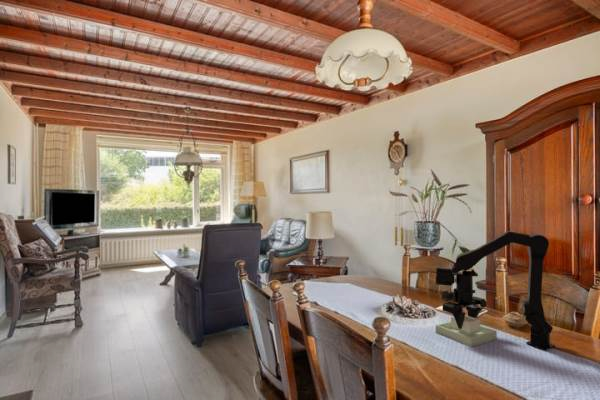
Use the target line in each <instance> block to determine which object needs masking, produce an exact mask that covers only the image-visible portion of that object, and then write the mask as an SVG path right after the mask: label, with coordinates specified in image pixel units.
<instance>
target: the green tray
mask: <svg viewBox="0 0 600 400" xmlns="http://www.w3.org/2000/svg"><path fill="white" fill-rule="evenodd" d="M497 332H498V331H497V330H495V329H492V328H490V327H487V326H483V325H481V324H480V332H477V333H474V334H471V335H469V334H466V333H463V332H461V331H458V330H455V329H453V328H451V320H449V321H447V322H446V321H445V322H442V323H438V324H435V334H438V335H441V336H443V337H446V338H449V339H451V340H453V341H455V342H457V341H458V343H460V344H462V343H463V345H466V346H467V345H468V347H470V348H472V347H477V346H480V345H481V344H485V343H487V342H488V343H489V342H491V341H494V340H497V337H498V336H497Z"/></svg>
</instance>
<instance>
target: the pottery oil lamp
mask: <svg viewBox="0 0 600 400" xmlns="http://www.w3.org/2000/svg"><path fill="white" fill-rule="evenodd" d="M501 318H502V320H503V321H504V322H505V323H506V324H507V325H509V326H510V327H513V328H518V329H519V328H520V329H521V328H522V327H525V326H526V325H528V324H529V323H528V322H527V321H526V319H525V317H524V315H523V314H520V313H519V312H518V311H510V312H508V313H506V314H505V315H504V316H502V317H501Z"/></svg>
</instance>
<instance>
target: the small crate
mask: <svg viewBox="0 0 600 400" xmlns="http://www.w3.org/2000/svg"><path fill="white" fill-rule="evenodd" d="M450 321H451V328H453V329H455V330H458V331H461V332H463V333H466V334H469V335H471V334H474V333H477V332H480V325H481V320H480V319H478V318H472V317H469V316H468V315H467V316H466V314H465V317H464V322H463V326H462V329H459V328H458V326H457V323H456V320H455V318H454V316H453V315H451V316H450Z"/></svg>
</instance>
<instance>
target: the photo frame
mask: <svg viewBox="0 0 600 400" xmlns="http://www.w3.org/2000/svg"><path fill="white" fill-rule="evenodd" d="M434 310H437V311H441V312H445V313H449V312H446V311H443V306H442V305H440V306H437V307H436V308H434ZM481 311H482V312H481ZM481 311H480V313H479V314H478V316H477V318H478V317H481V316H483V315H484V314H486V313H488V312H489V310H487V309H483V308H482V310H481ZM449 314H450V313H449ZM465 315H466V314H465ZM466 316H468V314H467V315H466Z"/></svg>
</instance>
